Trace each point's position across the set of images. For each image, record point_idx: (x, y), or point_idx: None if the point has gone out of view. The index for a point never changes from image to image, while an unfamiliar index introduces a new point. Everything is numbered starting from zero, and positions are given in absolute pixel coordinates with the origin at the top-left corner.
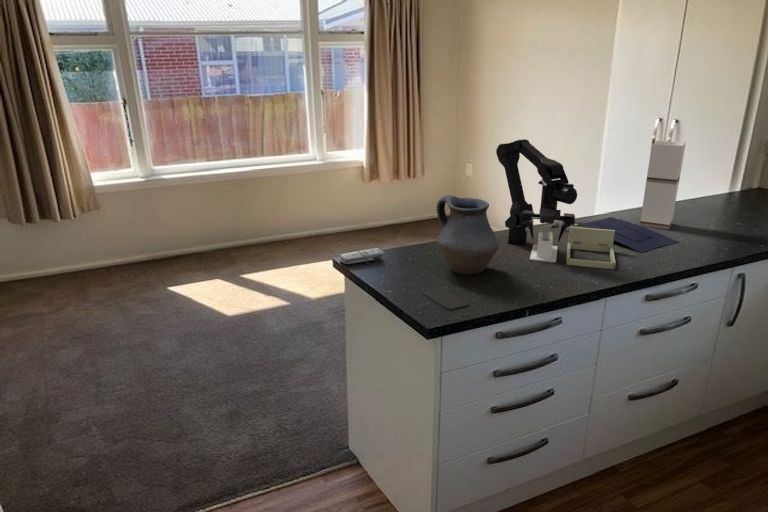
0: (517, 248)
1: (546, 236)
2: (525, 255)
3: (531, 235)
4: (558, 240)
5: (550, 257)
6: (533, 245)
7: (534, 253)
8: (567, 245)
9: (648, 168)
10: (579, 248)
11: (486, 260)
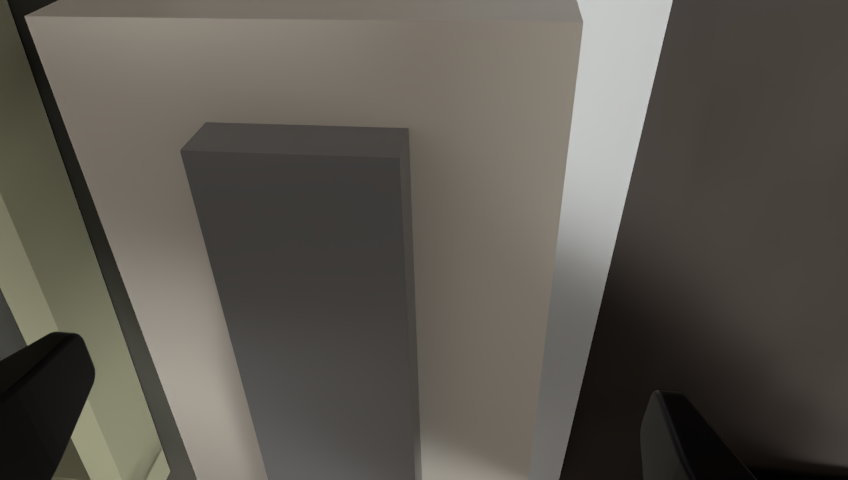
0: (816, 352)
1: (304, 405)
2: (763, 35)
3: (739, 468)
4: (55, 344)
5: None
6: (560, 447)
7: (578, 122)
8: (130, 453)
9: None
10: None
11: None
